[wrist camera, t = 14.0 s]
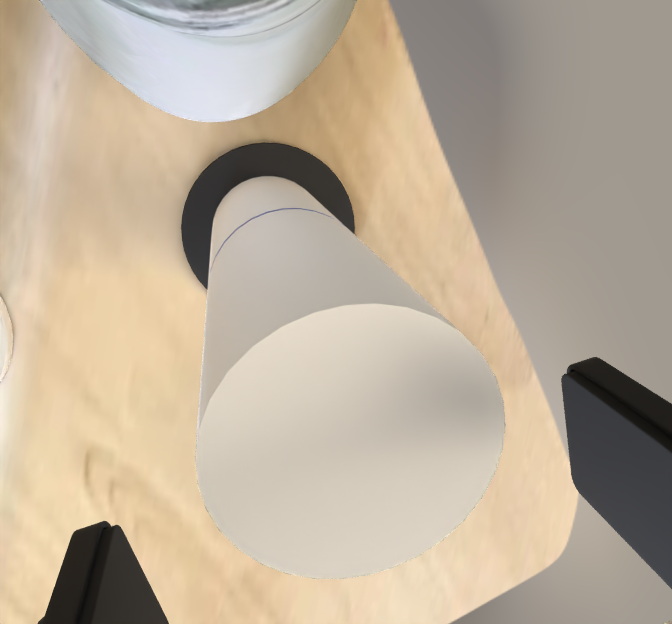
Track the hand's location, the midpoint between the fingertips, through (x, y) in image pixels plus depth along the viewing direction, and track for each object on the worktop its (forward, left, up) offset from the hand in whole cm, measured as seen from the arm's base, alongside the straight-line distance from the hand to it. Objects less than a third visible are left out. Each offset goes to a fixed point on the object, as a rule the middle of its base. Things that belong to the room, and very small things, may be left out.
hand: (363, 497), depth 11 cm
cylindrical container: (0, 0, -27) cm, 27 cm away
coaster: (0, 0, -27) cm, 27 cm away
